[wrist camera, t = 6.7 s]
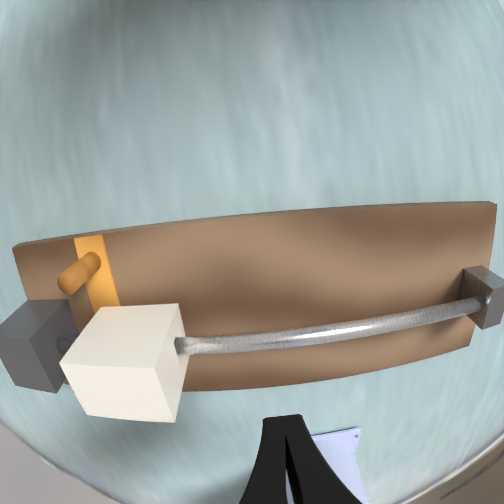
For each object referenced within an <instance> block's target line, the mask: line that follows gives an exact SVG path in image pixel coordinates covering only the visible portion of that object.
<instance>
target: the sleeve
mask: <svg viewBox="0 0 504 504" xmlns="http://www.w3.org/2000/svg"><path fill="white" fill-rule="evenodd" d="M175 337H186V336H185V332H184V327H183V323H182V318H181V314H180V309H179V305H178V303H175V304H158V305H138V306H114V307H101V308H100V309H99V310H98V311H97V313H96V314H95V315H94V317H93V318H92V319H91V320H90V322H89V323H88V324H87V326H86V327H85V328H84V330H83V331H82V332H81V334H80V335H79V336H78V338H77V339H76V340H75V342H74V343H73V344H72V346H71V347H70V349H69V350H68V351H67V353H66V354H65V355H64V357H63V358H62V360H61V361H60V362H59V364H60V366H61V368H62V370H63V372H64V374H65V376H66V378H67V380H68V382H69V384H70V385H71V387H72V389H73V391H74V393H75V395H76V396H77V398H78V400H79V402H80V403H81V405H82V407H83V409H84V410H85V412H86V414H87V415H91V416H99V417H107V418H115V419H125V420H136V421H150V422H172V423H175V420H176V416H177V411H178V406H179V401H180V397H181V392H182V387H183V383H184V378H185V374H186V369H187V365H188V360H189V356H190V355H177V353H176V350H175V346H174V340H175Z"/></svg>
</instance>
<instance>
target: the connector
mask: <svg viewBox="0 0 504 504" xmlns="http://www.w3.org/2000/svg"><path fill="white" fill-rule="evenodd" d="M79 335H80V332H79V330H78V327H77V324H76V322H75V319H74V316H73V313H72V310H71V308H70V305H69V302H68V299H46V300H27V301H26V302H25V303H24V304H23V305H22V306H21V307H19V308H18V309H17V310H16V311H15V312H14V313H13V314H12V315H11V316H9V317H8V318H7V319H6V320H5V321H4V322H3V323H2V324H1V325H0V358H1V360H2V362H3V364H4V366H5V368H6V369H7V371H8V373H9V375H10V377H11V378H12V380H13V382H14V384H15V385H16V386H21V387H25V388H30V389H35V390H40V391H46V392H51V393H57V392H58V391H59V389H60V387H61V386H62V384H63V382H64V381H65V379H66V376H65V374H64V372H63V370H62V368H61V366H60V364H59V362H60V361H61V360H62V358H63V357H64V355H65V354H66V353H62V352H59V351H58V349H57V346H56V341H57V339H58V338H59V337H77V338H78V336H79Z"/></svg>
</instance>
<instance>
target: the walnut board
mask: <svg viewBox="0 0 504 504" xmlns="http://www.w3.org/2000/svg"><path fill="white" fill-rule="evenodd" d="M496 212H497V204H495V203H492V202H489V201H474V202H431V203H404V204H382V205H363V206H346V207H330V208H316V209H302V210H289V211H276V212H265V213H253V214H242V215H232V216H222V217H212V218H202V219H193V220H184V221H175V222H166V223H158V224H149V225H141V226H133V227H125V228H118V229H110V230H103V231H96V232H89V233H82V234H75V235H68V236H62V237H55V238H49V239H43V240H37V241H30V242H24V243H19V244H18V245H16V246H14V247H12V250H13V254H14V257H15V261H16V264H17V268H18V271H19V274H20V278H21V281H22V284H23V287H24V290H25V293H26V296H27V299H28V300H46V299H68V302H69V305H70V308H71V310H72V313H73V316H74V319H75V322H76V324H77V327H78V330H79V332H80V334H81V332H82V331H83V330H84V328H85V327H86V326H87V324H88V323H89V322H90V320H91V319H92V318H93V317H94V315H95V314H96V313H97V311H98V310H99V309H100V308H101V307H114V306H138V305H158V304H175V303H178V305H179V309H180V314H181V318H182V323H183V327H184V332H185V336H186V337H191V336H210V335H226V334H239V333H251V332H263V331H273V330H283V329H292V328H301V327H309V326H317V325H325V324H332V323H340V322H347V321H353V320H360V319H366V318H372V317H378V316H384V315H390V314H395V313H401V312H406V311H411V310H417V309H422V308H427V307H431V306H436V305H441V304H445V303H450V302H454V301H457V298H458V293H459V288H460V283H461V277H462V271H463V268H467V267H473V266H479V265H482V266H484V267H485V268H487V269H488V270H489V264H490V259H491V253H492V246H493V239H494V231H495V222H496ZM474 328H475V323H474V322H473V321H472V320H471V319H470V318H469V317H468V316H466V315H462V316H459V317H455V318H451V319H447V320H443V321H439V322H435V323H430V324H426V325H422V326H417V327H412V328H408V329H403V330H398V331H393V332H388V333H383V334H377V335H372V336H366V337H360V338H354V339H348V340H342V341H335V342H329V343H321V344H314V345H306V346H298V347H289V348H280V349H270V350H260V351H248V352H234V353H219V354H198V355H190V356H189V360H188V365H187V369H186V374H185V378H184V383H183V387H182V391H222V390H240V389H254V388H266V387H276V386H285V385H294V384H302V383H309V382H316V381H323V380H330V379H336V378H342V377H347V376H353V375H358V374H363V373H368V372H373V371H378V370H382V369H387V368H391V367H395V366H400V365H404V364H408V363H412V362H416V361H419V360H423V359H427V358H430V357H434V356H437V355H441V354H444V353H447V352H451V351H454V350H457V349H460V348H463V347H466V346H469V344H470V341H471V338H472V335H473V331H474ZM64 383H65V384H68V385H70V384H69V382H68V380H67V378H66V379H65V381H64Z"/></svg>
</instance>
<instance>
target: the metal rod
mask: <svg viewBox="0 0 504 504" xmlns="http://www.w3.org/2000/svg"><path fill="white" fill-rule="evenodd" d="M503 312H504V279H502V278H501V277H499V276H498V275H496V274H495V273H493V272H491V271H490V270H488V269H487V268H485V267H484V266H482V265H479V266H473V267H467V268H463V271H462V277H461V283H460V288H459V293H458V298H457V301H454V302H450V303H445V304H441V305H436V306H431V307H427V308H422V309H417V310H411V311H406V312H401V313H395V314H390V315H384V316H378V317H372V318H366V319H360V320H353V321H347V322H340V323H332V324H325V325H317V326H309V327H301V328H292V329H283V330H273V331H263V332H251V333H239V334H226V335H210V336H191V337H175V340H174V346H175V350H176V353H177V355H198V354H219V353H234V352H248V351H260V350H270V349H280V348H289V347H298V346H306V345H314V344H321V343H329V342H335V341H342V340H348V339H354V338H360V337H366V336H372V335H377V334H383V333H388V332H393V331H398V330H403V329H408V328H412V327H417V326H422V325H426V324H430V323H435V322H439V321H443V320H447V319H451V318H455V317H459V316H462V315H466V316H468V317H469V318H470V319H471V320H472V321H473V322H474V323H475V324H476V325H477V326H478V327H479V328H480V329H482V330H483V329H486V328H489V327H492V326H495V325H497V324H500V322H501V319H502V316H503ZM76 339H77V337H59V338H58V339H57V341H56V346H57V349H58V351H59V352H62V353H67V351H68V350H69V349H70V347H71V346H72V344H73V343H74V342H75V340H76Z"/></svg>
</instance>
